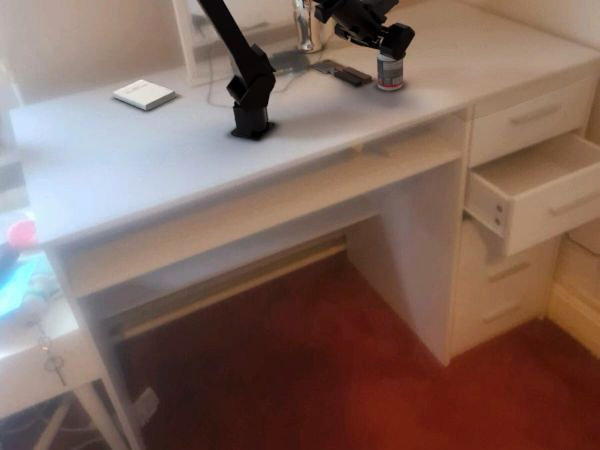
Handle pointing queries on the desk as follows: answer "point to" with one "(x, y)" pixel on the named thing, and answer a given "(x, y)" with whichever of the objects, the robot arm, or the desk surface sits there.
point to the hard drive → (144, 94)
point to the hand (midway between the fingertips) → (395, 52)
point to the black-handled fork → (337, 74)
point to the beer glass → (306, 25)
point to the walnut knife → (349, 71)
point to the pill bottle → (389, 72)
